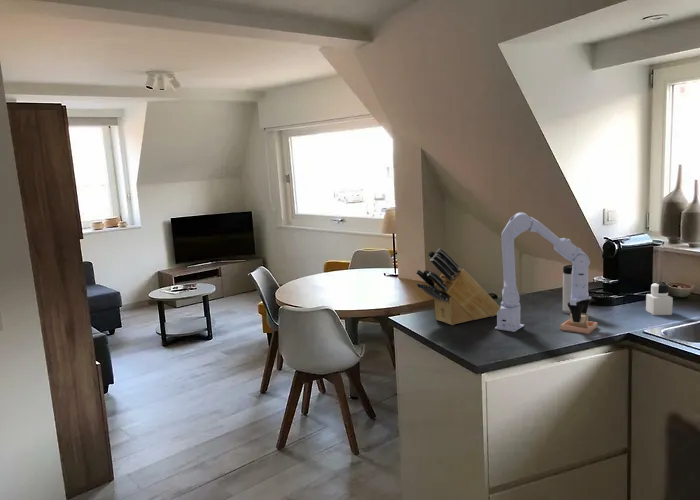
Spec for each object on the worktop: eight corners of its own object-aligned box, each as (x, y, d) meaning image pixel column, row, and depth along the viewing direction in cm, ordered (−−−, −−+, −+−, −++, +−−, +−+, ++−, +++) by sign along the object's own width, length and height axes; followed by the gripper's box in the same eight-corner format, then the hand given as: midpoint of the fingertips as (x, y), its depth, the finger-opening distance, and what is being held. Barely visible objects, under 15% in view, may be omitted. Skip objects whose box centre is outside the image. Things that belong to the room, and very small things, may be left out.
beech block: (583, 329, 200) (584, 316, 199) (569, 327, 203) (570, 314, 202) (587, 326, 203) (588, 313, 203) (574, 324, 206) (574, 312, 206)
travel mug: (581, 314, 222) (582, 266, 219) (564, 314, 223) (564, 266, 220) (578, 310, 228) (578, 263, 225) (561, 310, 229) (561, 263, 226)
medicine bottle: (663, 310, 221) (665, 281, 220) (672, 315, 214) (673, 285, 213) (645, 310, 222) (646, 282, 220) (653, 315, 215) (654, 285, 213)
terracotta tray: (588, 334, 196) (588, 329, 196) (560, 330, 203) (560, 324, 202) (597, 327, 204) (597, 322, 203) (570, 323, 210) (570, 318, 210)
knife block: (415, 323, 220) (412, 248, 215) (483, 310, 235) (482, 239, 230) (431, 330, 210) (429, 251, 205) (501, 315, 225) (501, 241, 220)
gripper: (584, 289, 193) (583, 326, 195) (597, 281, 203) (596, 316, 205) (564, 287, 197) (563, 323, 199) (577, 279, 208) (577, 314, 210)
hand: (579, 319), depth 203 cm, fingers open, 5 cm apart
